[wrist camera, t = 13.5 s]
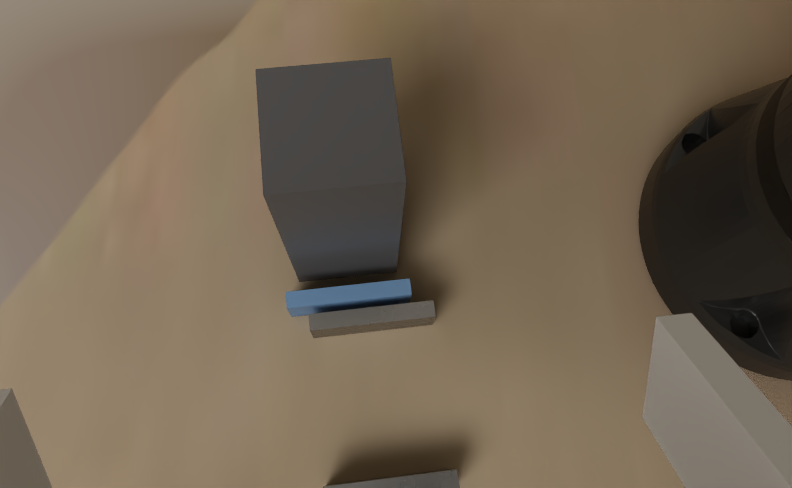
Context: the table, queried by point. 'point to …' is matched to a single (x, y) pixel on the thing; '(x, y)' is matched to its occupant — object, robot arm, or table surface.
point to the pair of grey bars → (431, 484)
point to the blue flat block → (348, 297)
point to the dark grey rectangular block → (333, 165)
